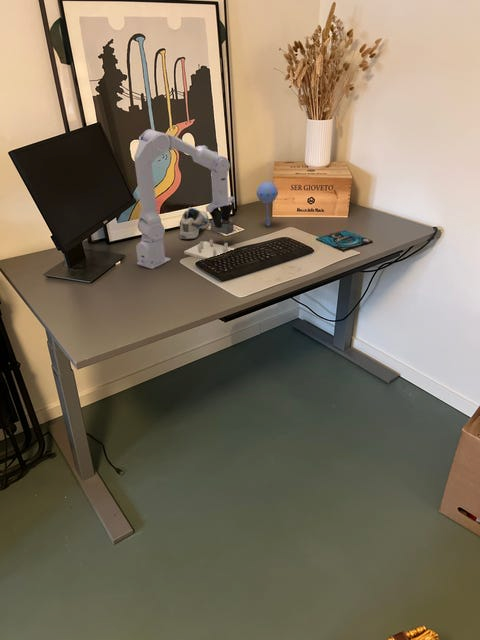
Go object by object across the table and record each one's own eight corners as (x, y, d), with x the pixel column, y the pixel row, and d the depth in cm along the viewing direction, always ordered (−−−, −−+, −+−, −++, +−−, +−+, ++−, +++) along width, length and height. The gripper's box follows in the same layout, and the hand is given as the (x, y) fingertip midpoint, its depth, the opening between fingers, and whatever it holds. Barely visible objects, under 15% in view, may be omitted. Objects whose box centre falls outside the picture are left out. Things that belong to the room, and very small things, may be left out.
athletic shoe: (212, 221, 209) (203, 194, 203) (204, 241, 190) (194, 212, 184) (190, 226, 211) (181, 200, 206) (180, 246, 192) (170, 218, 186)
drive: (233, 231, 183) (233, 220, 181) (227, 234, 180) (226, 224, 178) (217, 227, 187) (216, 217, 185) (210, 230, 184) (210, 220, 182)
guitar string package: (342, 250, 175) (316, 238, 186) (342, 253, 176) (315, 241, 187) (372, 240, 182) (345, 229, 193) (372, 244, 182) (344, 233, 194)
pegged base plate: (218, 263, 170) (217, 253, 168) (184, 253, 179) (183, 244, 177) (238, 252, 178) (238, 243, 177) (205, 243, 187) (204, 235, 185)
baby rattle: (254, 223, 205) (253, 180, 196) (273, 220, 207) (273, 178, 198) (261, 229, 198) (260, 185, 189) (280, 227, 200) (281, 183, 191)
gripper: (216, 196, 168) (218, 233, 175) (240, 186, 178) (241, 222, 185) (200, 193, 172) (203, 229, 179) (225, 184, 182) (227, 218, 189)
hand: (221, 225), depth 182 cm, fingers closed on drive, 4 cm apart
